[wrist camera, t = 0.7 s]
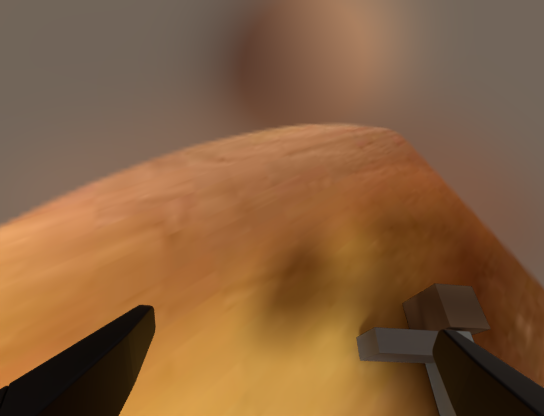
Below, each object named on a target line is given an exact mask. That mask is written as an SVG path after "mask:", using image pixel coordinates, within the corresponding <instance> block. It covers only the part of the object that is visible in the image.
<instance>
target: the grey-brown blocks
mask: <svg viewBox="0 0 544 416" xmlns="http://www.w3.org/2000/svg"><path fill="white" fill-rule="evenodd" d="M403 307H404V311H405V314H406V318H407V322H408V325H409V329H412V330H429V331H439V330H440V329H451V330H455V331H467V332H470V333H471V335H473V334H477V333H480V332H483V331H486V330H489V329H490V326H489V324H488V322H487V320H486V317H485V315H484V313H483V311H482V308H481V306H480V304H479V302H478V299H477V297H476V295H475V293H474V290H473V288H472V286H460V285H448V284H433V285H432V286H430V287H428V288H427V289H425V290H423V291H422V292H420V293H419V294H417V295H415V296H414V297H412V298H410V299H409V300H407V301H405V302H404V303H403Z"/></svg>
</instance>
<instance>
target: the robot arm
mask: <svg viewBox="0 0 544 416" xmlns="http://www.w3.org/2000/svg"><path fill="white" fill-rule="evenodd" d="M154 333H155V315H154V308H153V306H150V305H139V306H137V307H135V308H133V309H132V310H130V311H128V312H127V313H125V314H124V315H122V316H120V317H119V318H117V319H115V320H114V321H112V322H110V323H109V324H107V325H105V326H104V327H102V328H100V329H99V330H97V331H95V332H94V333H92V334H91V335H89V336H87V337H86V338H84V339H82V340H81V341H79V342H77V343H76V344H74V345H72V346H71V347H69V348H67V349H66V350H64V351H62V352H61V353H59V354H58V355H56V356H54V357H53V358H51V359H49V360H48V361H46V362H44V363H43V364H41V365H39V366H38V367H36V368H34V369H33V370H31V371H29V372H28V373H26V374H25V375H23V376H21V377H20V378H18V379H16V380H15V381H13V382H11V383H10V384H9V386H5V387H3V388H1V389H0V416H119V414H120V412H121V410H122V408H123V406H124V404H125V402H126V400H127V398H128V396H129V394H130V392H131V390H132V388H133V386H134V384H135V382H136V379H137V377H138V374H139V372H140V369H141V367H142V364H143V362H144V359H145V357H146V354H147V351H148V349H149V346H150V344H151V341H152V339H153V336H154ZM432 354H433V358H434V361H435V363H436V366H437V369H438V371H439V374H440V376H441V379H442V382H443V384H444V387H445V389H446V392H447V394H448V397H449V400H450V402H451V404H452V407H453V409H454V412H455V414H456V416H544V388H543V387H541V386H540V385H538V384H537V383H535V382H534V381H532V380H531V379H529V378H527V377H526V376H524V375H523V374H521V373H520V372H518V371H517V370H515V369H514V368H512V367H511V366H509V365H508V364H506V363H505V362H503V361H501V360H500V359H498V358H497V357H495V356H494V355H492V354H491V353H489V352H488V351H486V350H485V349H483V348H482V347H480V346H478V345H477V344H475V343H474V342H472V341H471V340H469V339H468V338H466V337H465V336H463V335H462V334H460V333H459V332H457V331H455V330H451V329H440V330H439V331H438V334H437V337H436V340H435V343H434V345H433V349H432Z"/></svg>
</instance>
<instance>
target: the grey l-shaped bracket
mask: <svg viewBox="0 0 544 416" xmlns="http://www.w3.org/2000/svg"><path fill="white" fill-rule="evenodd" d="M457 332H459V333H460V334H462V335H463V336H465V337H466V338H468V339H469V340H471V341H472V342H474V341H473V338H472V336H471V333H470V332H467V331H457ZM437 334H438V331H429V330H412V329H395V328H378V327H374V328H373V329H371V330H369V331H367V332H365V333H364V334H362V335H360V336H358V337H357V345H358V351H359V357H360V361H383V362H407V363H425V365H426V368H427V372H428V375H429V379H430V382H431V386H432V389H433V393H434V396H435V400H436V403H437V407H438V410H439V414H440V416H456V414H455V412H454V409H453V407H452V404H451V402H450V400H449V397H448V394H447V392H446V389H445V387H444V384H443V382H442V379H441V376H440V374H439V371H438V369H437V366H436V363H435V361H434V358H433V354H432V349H433V345H434V343H435V340H436V337H437Z"/></svg>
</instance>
